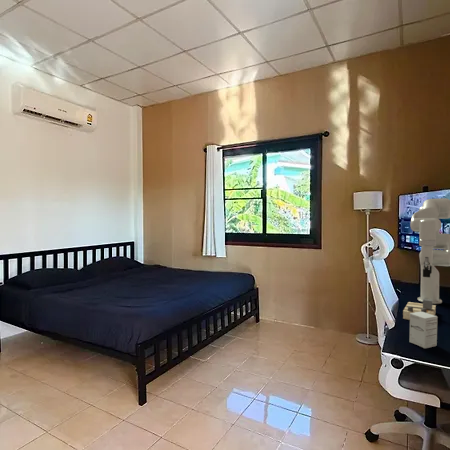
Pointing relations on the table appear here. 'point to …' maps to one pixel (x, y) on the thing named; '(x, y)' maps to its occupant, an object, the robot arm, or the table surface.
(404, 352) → the table surface
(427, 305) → the fader tab
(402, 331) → the table surface
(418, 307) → the fader console
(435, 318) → the supplement box
